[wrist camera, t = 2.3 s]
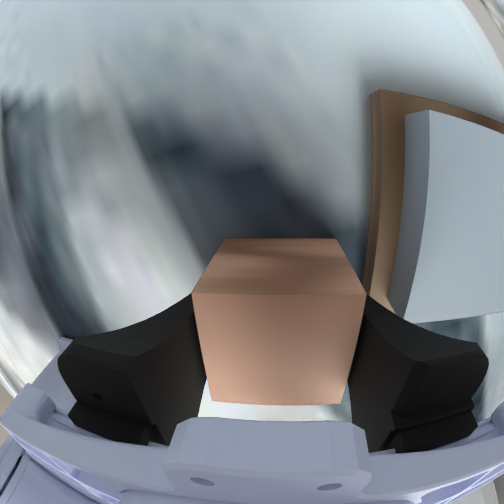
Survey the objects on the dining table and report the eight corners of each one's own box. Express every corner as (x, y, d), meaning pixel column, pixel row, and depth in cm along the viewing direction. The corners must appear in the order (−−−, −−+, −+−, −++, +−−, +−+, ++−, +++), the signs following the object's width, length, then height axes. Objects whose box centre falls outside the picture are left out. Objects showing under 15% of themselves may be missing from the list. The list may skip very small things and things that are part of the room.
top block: (387, 299, 11) (401, 324, 9) (404, 115, 8) (428, 109, 6) (498, 291, 10) (517, 308, 9) (521, 150, 8) (546, 155, 6)
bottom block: (355, 298, 14) (364, 319, 12) (365, 97, 10) (379, 89, 8) (487, 289, 12) (503, 304, 11) (508, 134, 9) (529, 136, 7)
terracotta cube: (232, 328, 14) (212, 400, 9) (224, 238, 12) (191, 292, 8) (326, 329, 14) (340, 403, 9) (336, 238, 12) (366, 294, 7)
